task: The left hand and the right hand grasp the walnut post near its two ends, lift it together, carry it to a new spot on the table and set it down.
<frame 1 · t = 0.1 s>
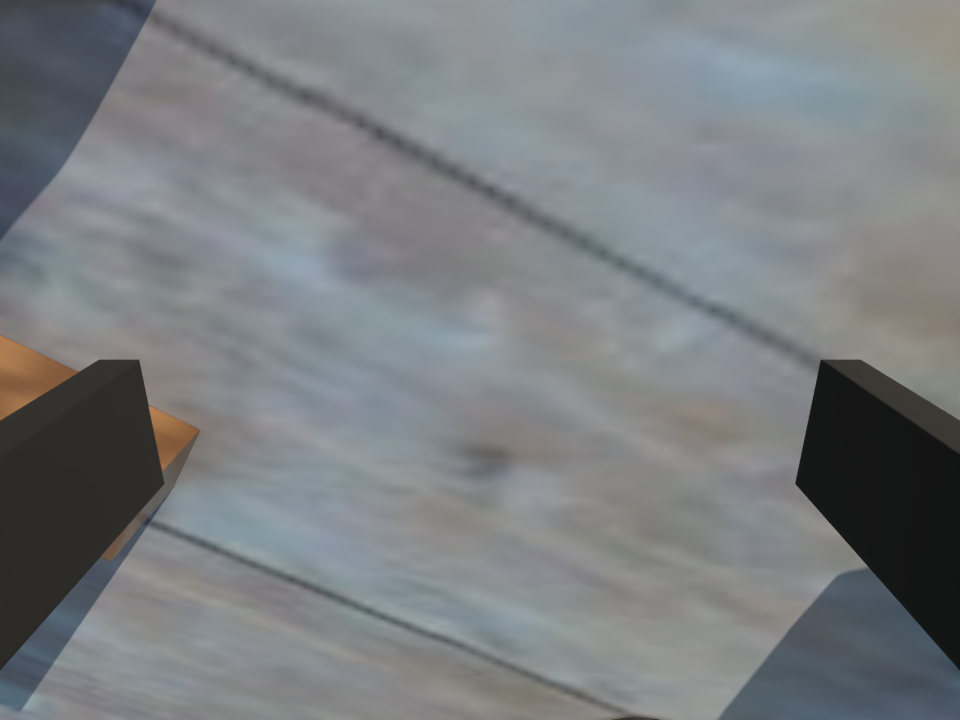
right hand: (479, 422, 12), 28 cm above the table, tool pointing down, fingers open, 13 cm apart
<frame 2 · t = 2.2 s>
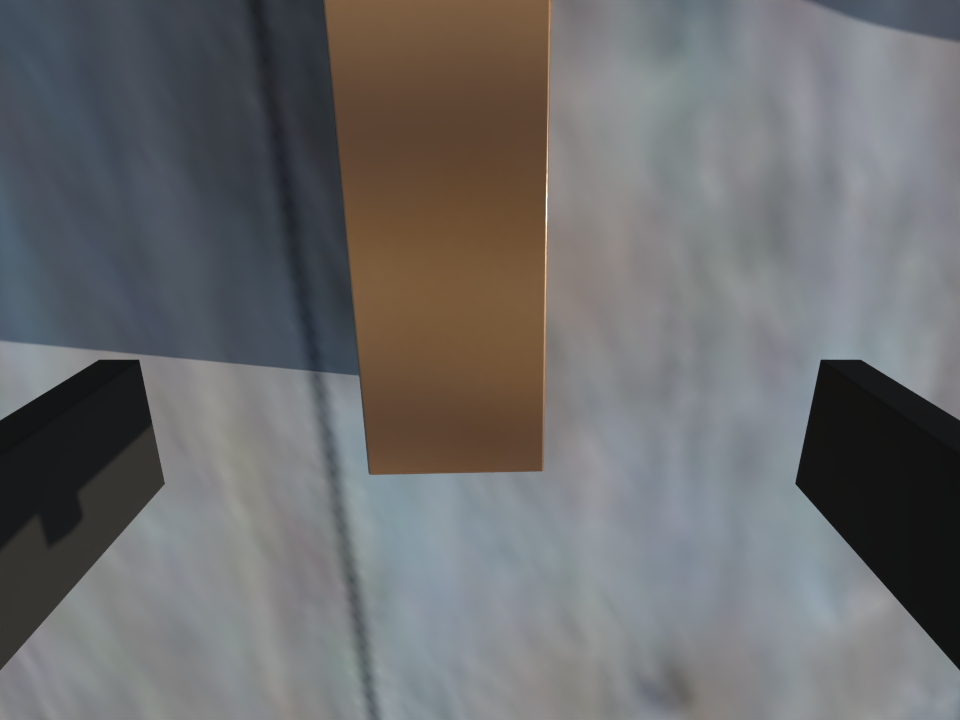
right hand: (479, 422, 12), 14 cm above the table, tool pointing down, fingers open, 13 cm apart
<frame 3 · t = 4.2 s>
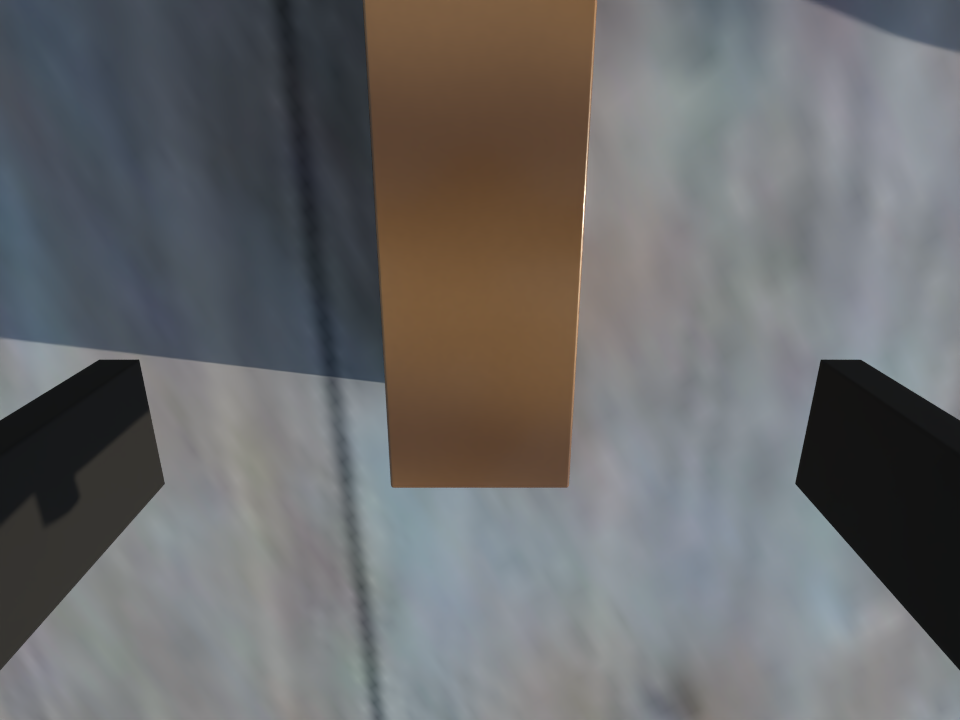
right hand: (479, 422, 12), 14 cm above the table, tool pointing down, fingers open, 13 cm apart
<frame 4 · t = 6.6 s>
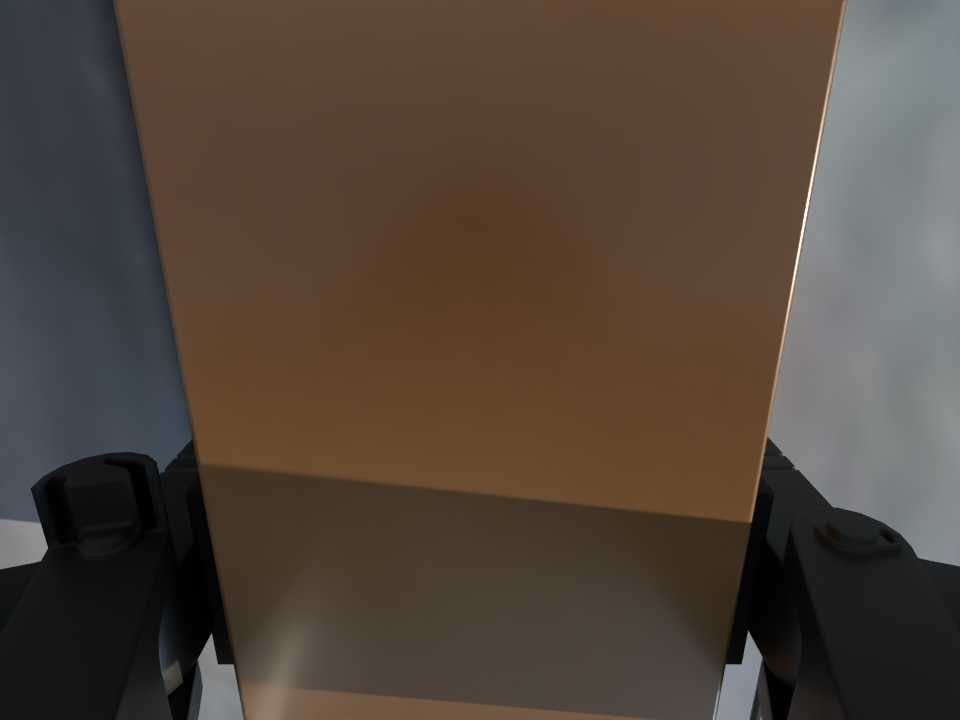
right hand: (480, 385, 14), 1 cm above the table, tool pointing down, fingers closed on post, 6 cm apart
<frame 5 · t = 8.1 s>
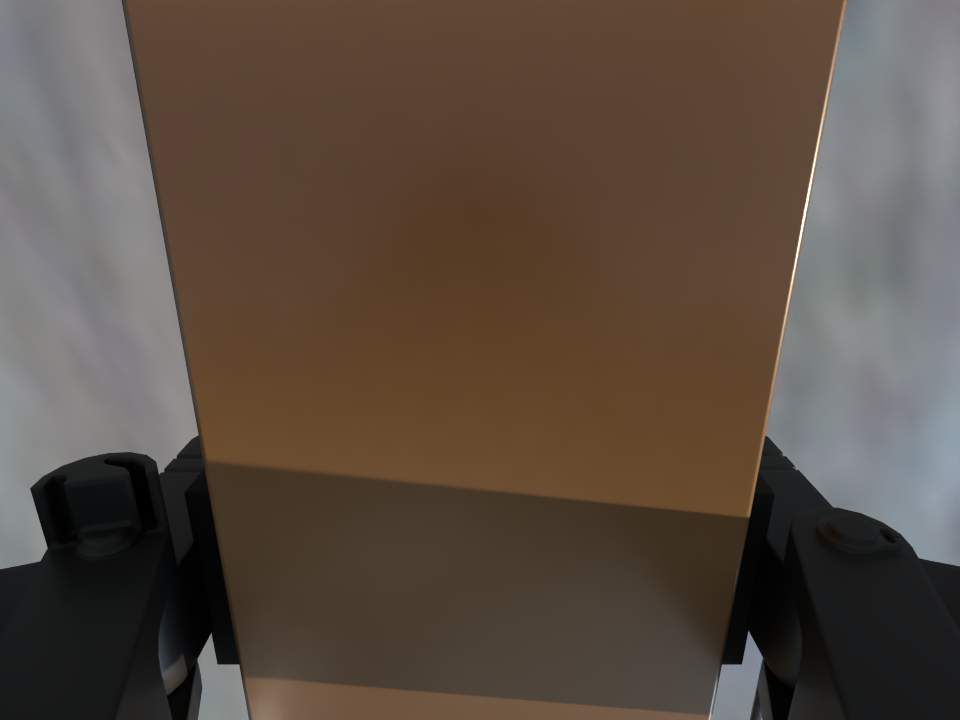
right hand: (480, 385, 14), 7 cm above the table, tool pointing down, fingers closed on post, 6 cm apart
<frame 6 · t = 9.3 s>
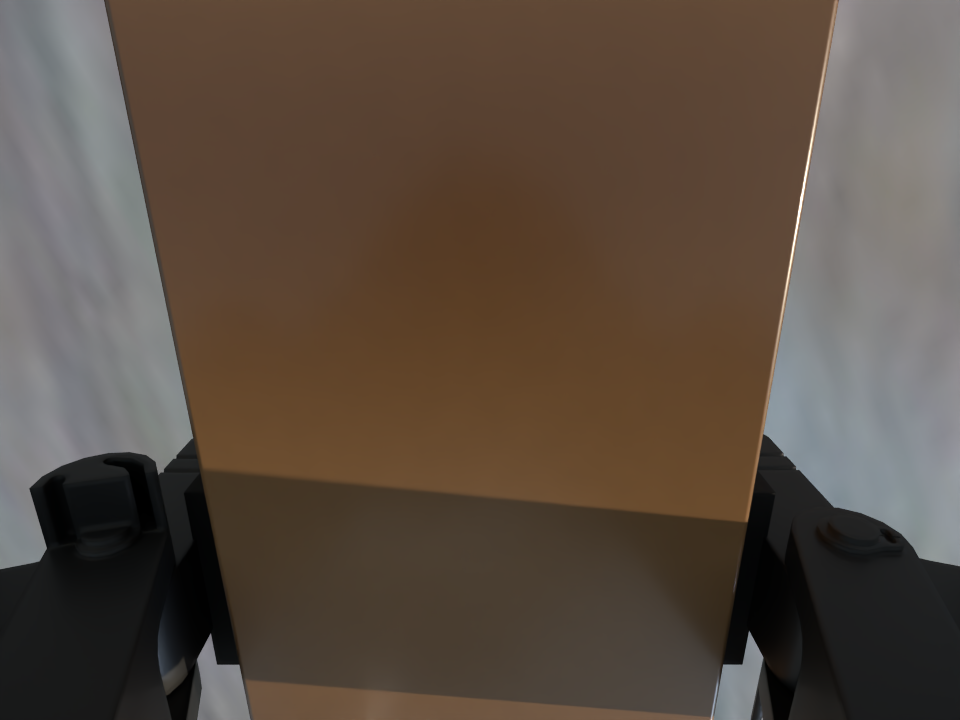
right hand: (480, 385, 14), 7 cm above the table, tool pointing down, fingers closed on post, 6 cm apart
when the right hand's fingers open (2 cm above the table, at t = 11.8 s): post stays where it is, on the table.
when the left hand's fingers open (4 cm above the table, at t = 11.9 s): post stays where it is, on the table.
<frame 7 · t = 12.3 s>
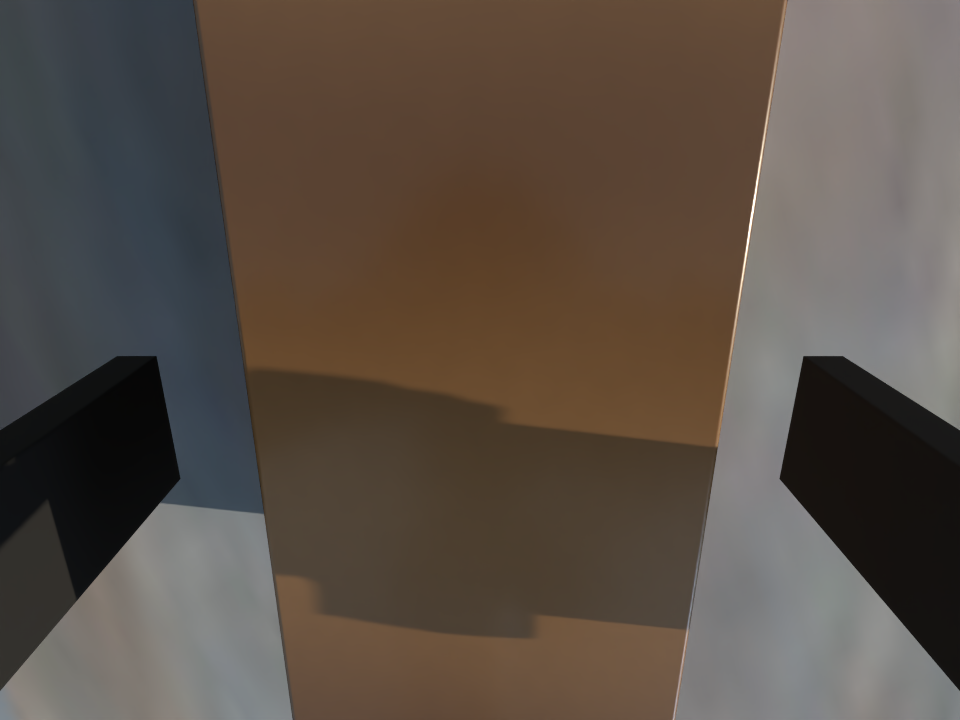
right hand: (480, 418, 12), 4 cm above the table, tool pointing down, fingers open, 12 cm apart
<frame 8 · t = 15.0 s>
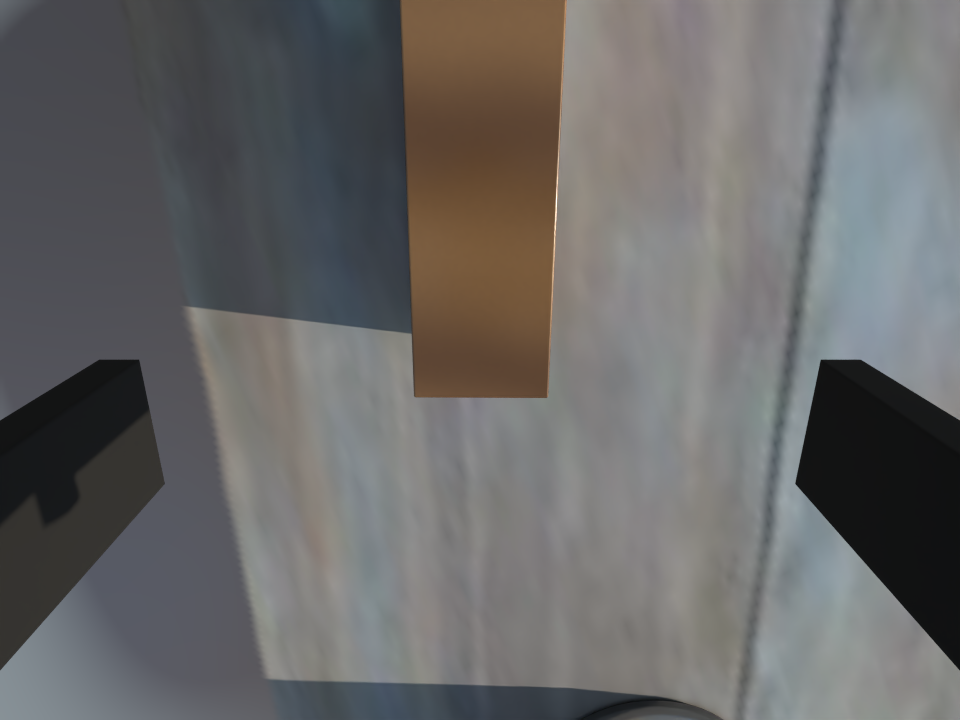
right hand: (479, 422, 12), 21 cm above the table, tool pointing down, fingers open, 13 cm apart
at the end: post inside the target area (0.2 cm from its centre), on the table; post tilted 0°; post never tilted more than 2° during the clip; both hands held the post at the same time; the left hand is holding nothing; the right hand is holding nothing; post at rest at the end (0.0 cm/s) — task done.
